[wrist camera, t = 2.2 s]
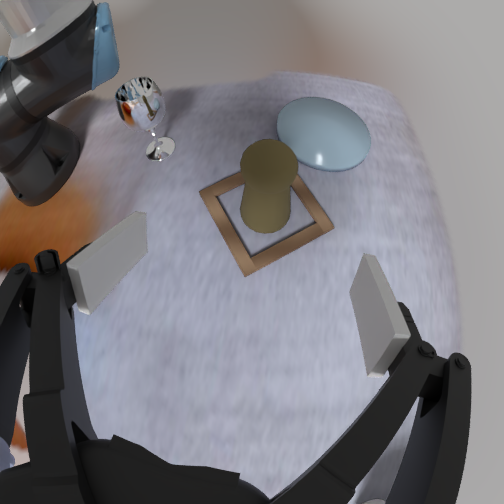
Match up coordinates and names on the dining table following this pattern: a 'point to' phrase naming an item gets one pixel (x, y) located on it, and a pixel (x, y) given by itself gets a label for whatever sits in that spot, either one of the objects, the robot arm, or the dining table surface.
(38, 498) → the robot arm
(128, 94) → the wineglass
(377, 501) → the dixie cup
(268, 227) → the cork
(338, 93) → the dining table surface
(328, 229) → the walnut frame
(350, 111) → the saucer
